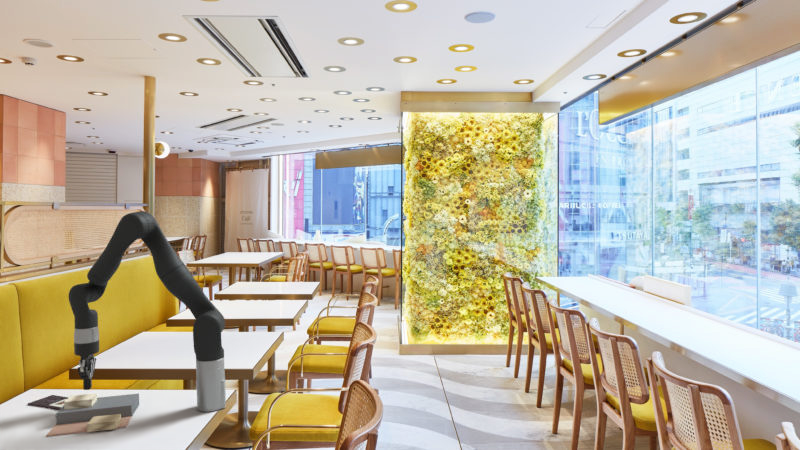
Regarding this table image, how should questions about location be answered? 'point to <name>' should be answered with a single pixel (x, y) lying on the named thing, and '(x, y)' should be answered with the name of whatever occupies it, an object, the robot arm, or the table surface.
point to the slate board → (100, 409)
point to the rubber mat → (79, 427)
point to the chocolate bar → (50, 402)
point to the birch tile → (80, 401)
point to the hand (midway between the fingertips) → (87, 388)
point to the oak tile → (104, 422)
